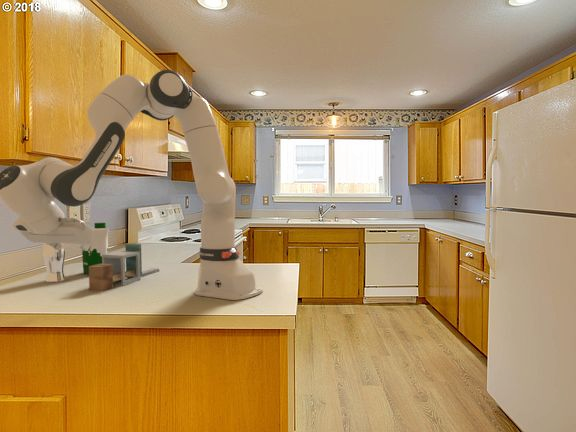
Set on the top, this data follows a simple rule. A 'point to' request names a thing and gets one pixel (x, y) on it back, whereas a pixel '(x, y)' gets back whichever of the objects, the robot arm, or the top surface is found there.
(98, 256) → the milk carton
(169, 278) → the top surface
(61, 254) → the beer glass
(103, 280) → the walnut block
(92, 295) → the top surface
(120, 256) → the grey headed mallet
